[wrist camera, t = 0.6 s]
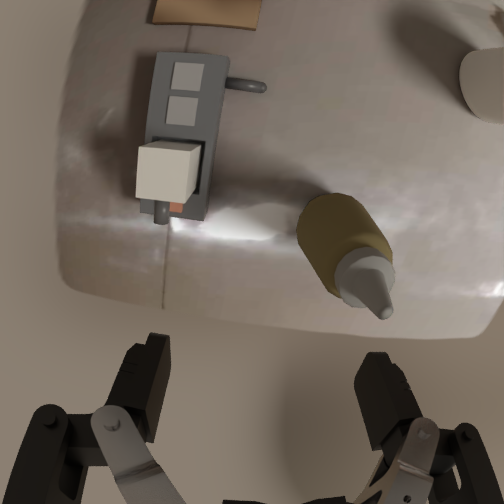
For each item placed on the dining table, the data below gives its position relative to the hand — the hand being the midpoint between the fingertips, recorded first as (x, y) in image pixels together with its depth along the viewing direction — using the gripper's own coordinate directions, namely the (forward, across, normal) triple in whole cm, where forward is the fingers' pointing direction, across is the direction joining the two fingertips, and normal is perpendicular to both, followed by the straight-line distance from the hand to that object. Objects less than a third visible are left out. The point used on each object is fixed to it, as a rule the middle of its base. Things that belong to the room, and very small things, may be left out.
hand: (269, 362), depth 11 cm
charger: (+23, +9, -2) cm, 25 cm away
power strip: (+24, +6, -6) cm, 26 cm away
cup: (+24, -27, -21) cm, 42 cm away
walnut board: (+24, +8, -24) cm, 35 cm away
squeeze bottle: (+24, -8, +2) cm, 26 cm away
